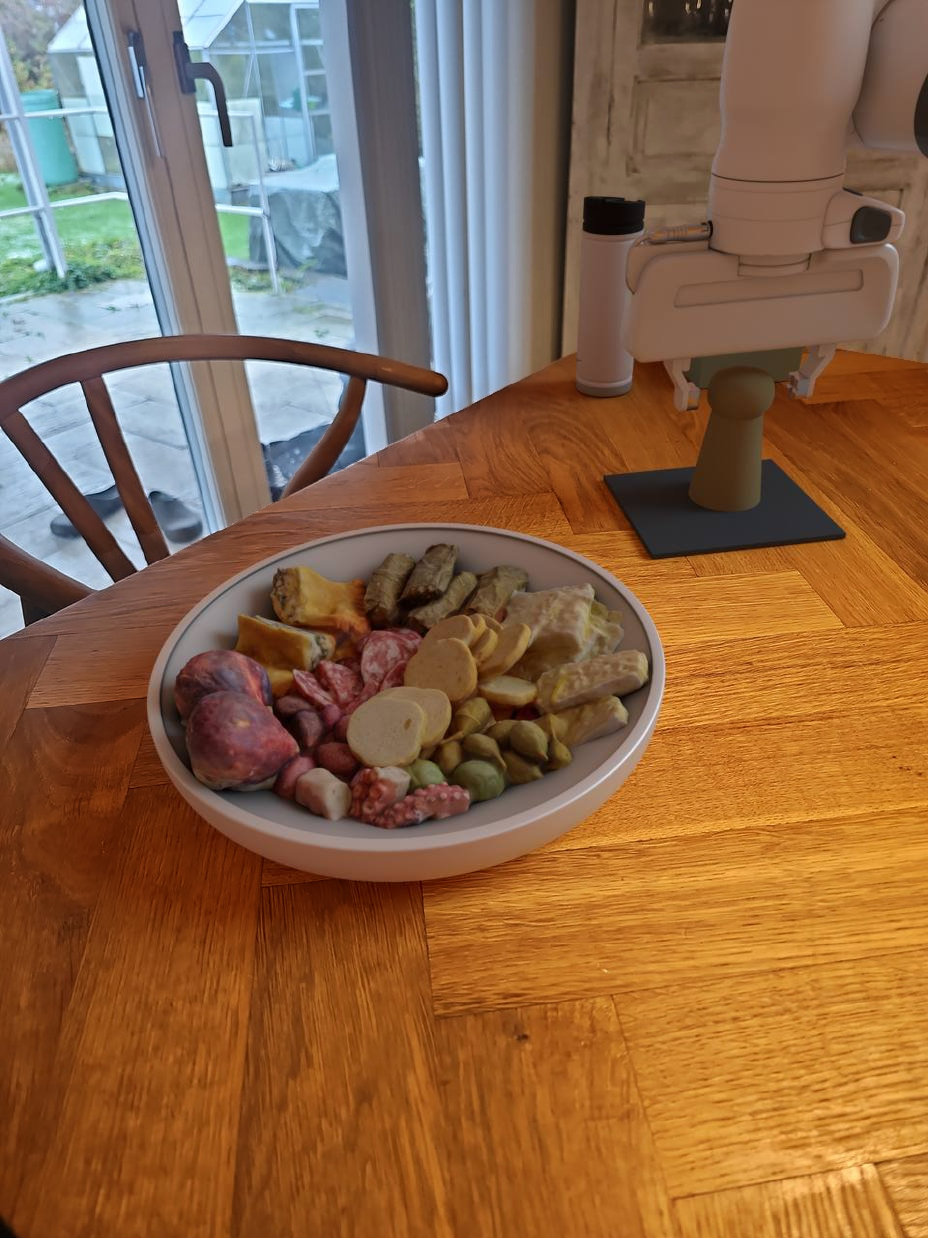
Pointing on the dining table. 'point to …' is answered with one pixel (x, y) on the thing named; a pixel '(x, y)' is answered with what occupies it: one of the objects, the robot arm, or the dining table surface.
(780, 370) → the box
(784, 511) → the mat
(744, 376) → the brown tapered knobbed piece
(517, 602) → the bowl
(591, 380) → the travel mug
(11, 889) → the dining table surface
